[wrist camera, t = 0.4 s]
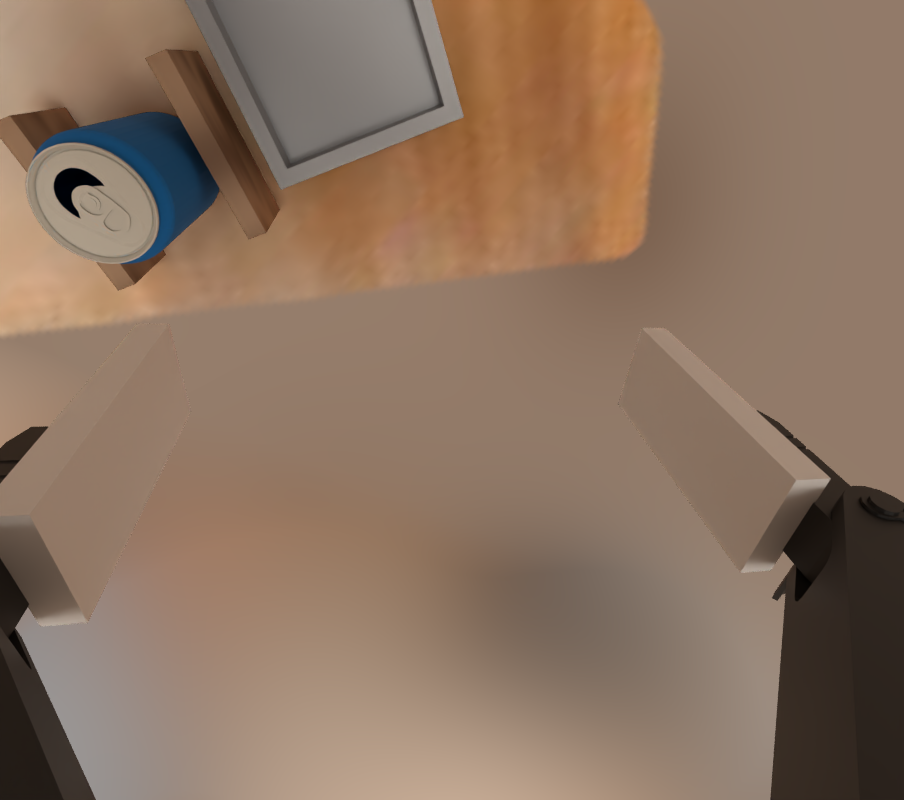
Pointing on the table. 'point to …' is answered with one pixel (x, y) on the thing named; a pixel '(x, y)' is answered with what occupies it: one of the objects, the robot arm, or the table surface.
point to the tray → (330, 76)
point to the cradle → (205, 127)
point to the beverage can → (119, 187)
